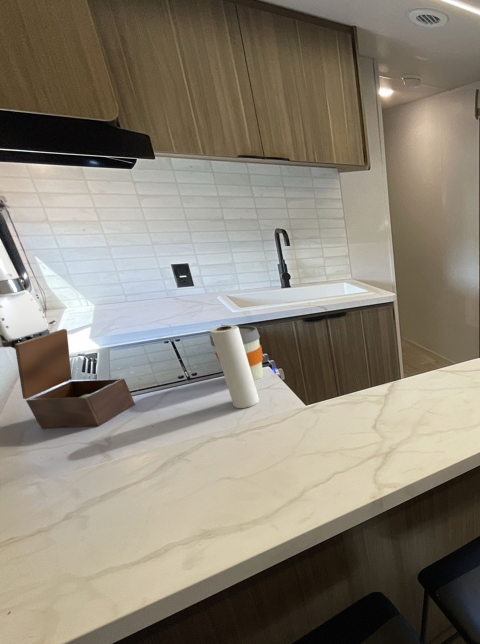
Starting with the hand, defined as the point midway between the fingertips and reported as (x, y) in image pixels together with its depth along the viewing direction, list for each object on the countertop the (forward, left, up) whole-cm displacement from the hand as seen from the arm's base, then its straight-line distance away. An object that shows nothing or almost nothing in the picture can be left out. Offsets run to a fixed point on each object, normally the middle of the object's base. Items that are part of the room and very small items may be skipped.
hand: (37, 363), depth 97 cm
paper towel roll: (+23, -38, -15) cm, 47 cm away
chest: (+3, -6, -15) cm, 16 cm away
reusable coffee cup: (+35, -22, -15) cm, 44 cm away
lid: (+1, -2, 0) cm, 2 cm away
